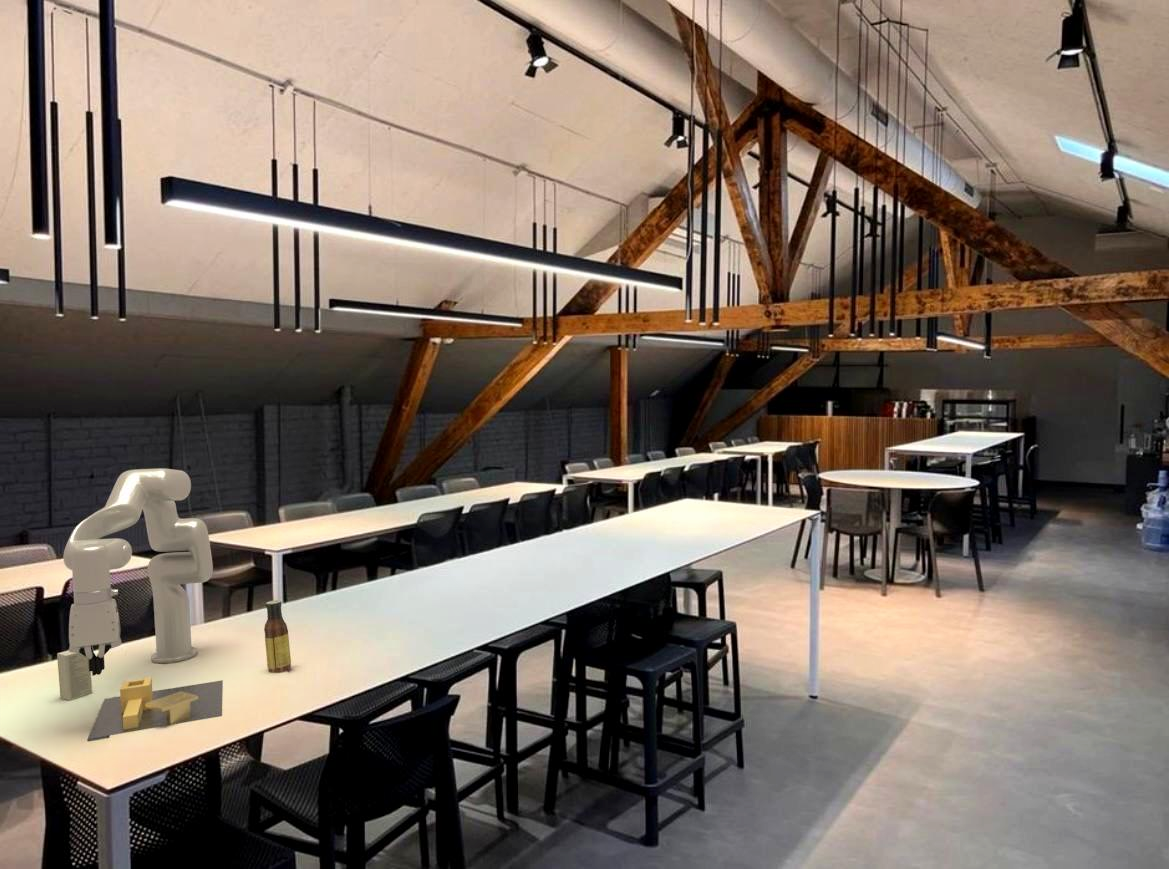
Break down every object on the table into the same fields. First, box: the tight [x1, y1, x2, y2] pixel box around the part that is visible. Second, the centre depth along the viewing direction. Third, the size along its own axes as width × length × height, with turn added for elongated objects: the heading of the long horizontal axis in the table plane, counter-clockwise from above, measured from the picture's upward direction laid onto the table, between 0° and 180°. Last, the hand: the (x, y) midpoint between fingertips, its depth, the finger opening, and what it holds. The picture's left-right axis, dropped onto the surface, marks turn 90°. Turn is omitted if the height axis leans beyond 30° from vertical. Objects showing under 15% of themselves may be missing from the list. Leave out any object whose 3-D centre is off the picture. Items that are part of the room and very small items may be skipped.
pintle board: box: [86, 680, 224, 742], centre depth 202 cm, size 29×28×6 cm
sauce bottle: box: [264, 599, 292, 674], centre depth 228 cm, size 6×6×20 cm
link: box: [119, 676, 153, 730], centre depth 198 cm, size 18×6×6 cm, turn 24°
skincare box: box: [56, 649, 93, 701], centre depth 214 cm, size 6×4×12 cm
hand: (97, 673), depth 192 cm, fingers closed
